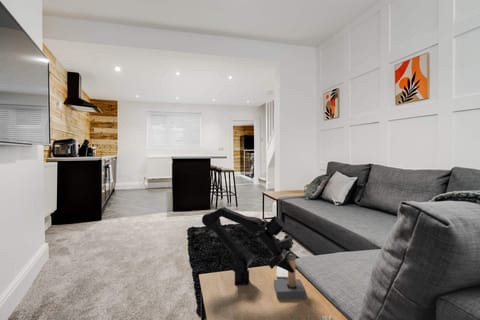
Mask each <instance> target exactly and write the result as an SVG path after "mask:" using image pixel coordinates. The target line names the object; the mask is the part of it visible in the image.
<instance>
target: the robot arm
mask: <svg viewBox="0 0 480 320" xmlns="http://www.w3.org/2000/svg"><path fill="white" fill-rule="evenodd" d="M222 217H223V218H224V219H227V220H229V221H231V222H234V223H236V224H239V225H240V226H242V227H243V228H244V229H245V230H247V231H248V232H250V233H252V234H254V241H258V240H260V241H261V243H262V244H263V245H264V247H265V250H266V251H267V252H268V251H269V252H270V253H271V255H272V256H271V259H270V260H269V261H268V266H269V268H270V269H271V270H272V269H274V268H275V267H276V268H277V266H278V267H280V268H283V269H285V270H287V271H289V272H291V273H294V270H293V268H292V267H291V265H290V264H289V263H288V259H287V255H288V254H292V248H293V247H294V246H293V245H294V244H295V243H294V241H293V237H292V236H291V235H290V234H285V236H283V237H284V238H283V239H279V238H276V236H278V235H279V234H280V233H281V232H282V231H283V230H284V229H286V226H287V225H286V224H285V223H284V221H283V220H282V219H280V218H279V217H277V216H276V215H275V216H273V217H272V218H271V219H270V220H269V221H265V220H263V219H262V218H260V217H255V216H247V215H244V214H241V213H239V212H236V211H235V210H231V209H229V208H227V207H226V206H222V207H219V208H218V209H217V210H215V211H211V212H208V213H205V214H203V216H202V218H201V223H202V225H204V226H205V227H206V228H207V229H209V230H211V231H212V232H214V234H216V236H217V237H218V238H219V239H220V241H221V242H222V243H223V244H224V245H225V246H226V248H227V249H228V251H230V253H231V254H232V257H233V261H234V262H235V263H234V264H233V265H232V266H231V270H232V272H234V285H235V286H236V285H239V286H240V285H249V281H250V271H249V269H248V267H249V266H250V264H252V263H253V255H252V252H251V251H250V250H249V249H248V247H247V246H244V247H241V246H240V245H239V243H237V242H236V240H235V239H234V238H233V237H232V235H231V234H230V233H229V232H228V231H227V229H226V228H225V227H224V226H223V224H222V223H221V218H222ZM295 270H297V266H296V265H295Z"/></svg>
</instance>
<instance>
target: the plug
mask: <svg viewBox="0 0 480 320" xmlns="http://www.w3.org/2000/svg"><path fill="white" fill-rule="evenodd" d="M296 258H297V256H296V254H294V253H291V254H288V255H287V259H288V263H289V264H290V265H291V267H292V268H293V270H294V273H291V272H289V271H288V279H287V280H288V286H289V287H295V286H296V278H297V276H296V269H295V266H296Z"/></svg>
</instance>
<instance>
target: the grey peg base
mask: <svg viewBox="0 0 480 320" xmlns="http://www.w3.org/2000/svg"><path fill="white" fill-rule="evenodd" d="M301 280H302V279H300V278H299V279H298V278H297V279H296V286H295V287H289V286H288V279H273V287H274V291H275V296H276V299H277V300H283V299H284V300H287V299H288V300H293V299H306V298H307V291H306V288H305V287H304V285H303V282H302V281H301Z"/></svg>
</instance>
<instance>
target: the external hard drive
mask: <svg viewBox="0 0 480 320" xmlns="http://www.w3.org/2000/svg"><path fill="white" fill-rule="evenodd" d="M276 279H280V280H288V271H287V270H285V269H283V268H280V267H278V266H277V267H276Z"/></svg>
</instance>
